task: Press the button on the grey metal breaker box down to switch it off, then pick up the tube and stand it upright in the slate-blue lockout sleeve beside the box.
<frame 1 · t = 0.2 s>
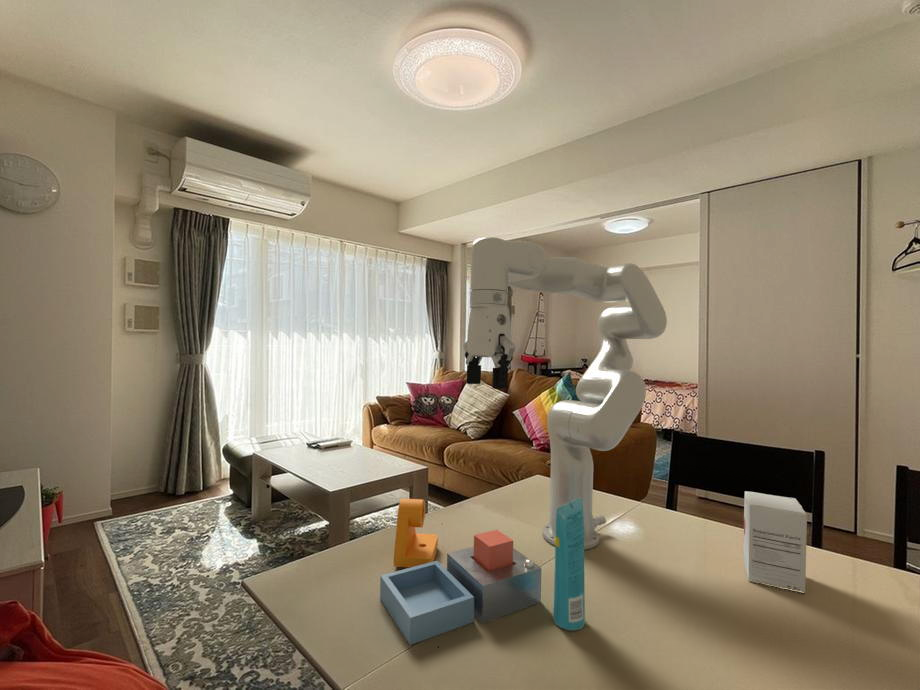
hand: (486, 386, 86), 36 cm above the table, tool pointing down, fingers open, 9 cm apart
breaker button: (493, 557, 76), point 6 cm above the table, slide at 0.0 cm
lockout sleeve: (424, 609, 71), on the table
supplement box: (771, 578, 84), on the table
breaker box: (492, 593, 76), on the table
tube: (567, 622, 69), on the table
bracket: (417, 559, 89), on the table
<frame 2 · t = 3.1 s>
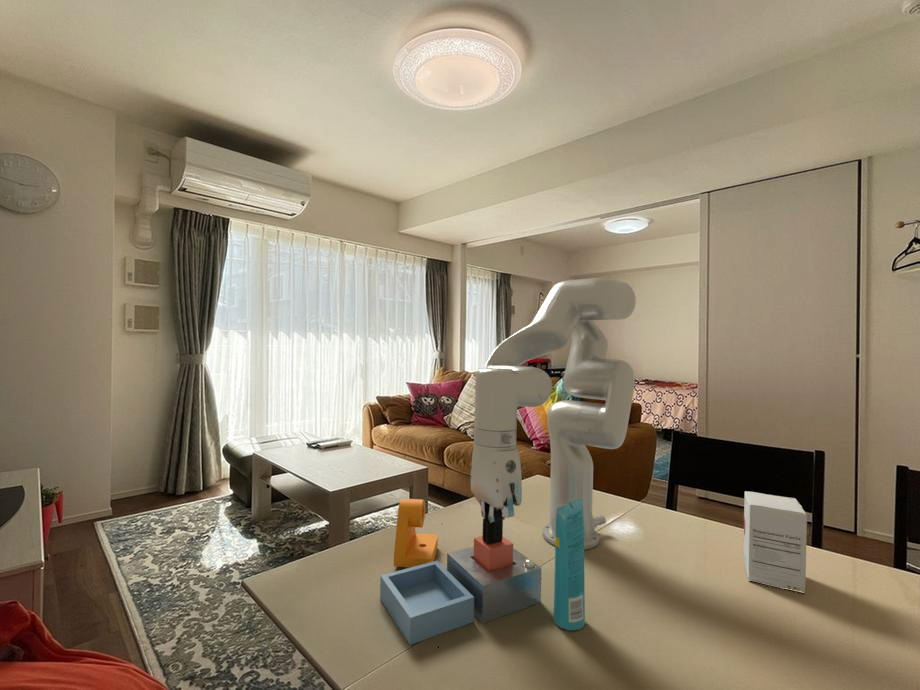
hand: (492, 541, 76), 10 cm above the table, tool pointing down, fingers closed
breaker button: (493, 560, 76), point 6 cm above the table, slide at 0.6 cm, touching gripper
everything else where it was.
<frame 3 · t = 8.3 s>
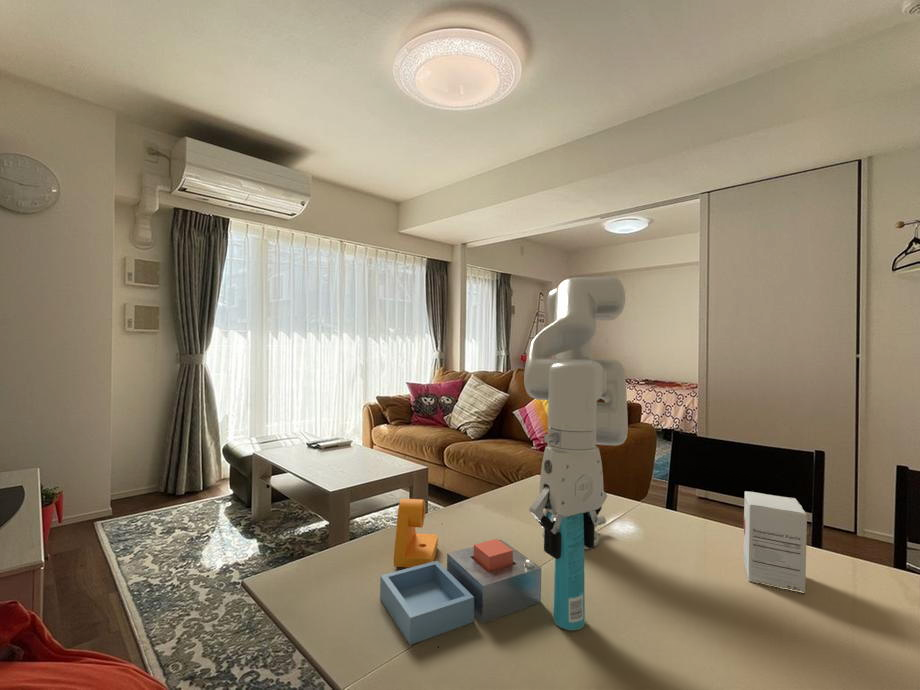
hand: (569, 548, 69), 12 cm above the table, tool pointing down, fingers closed on tube, 6 cm apart
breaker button: (492, 567, 76), point 5 cm above the table, slide at 1.7 cm
tube: (567, 622, 69), on the table, touching gripper
everything else where it was.
when the fingers open (14 cm above the table, at t = 14.8 s): tube drops 1 cm, resting on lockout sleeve.
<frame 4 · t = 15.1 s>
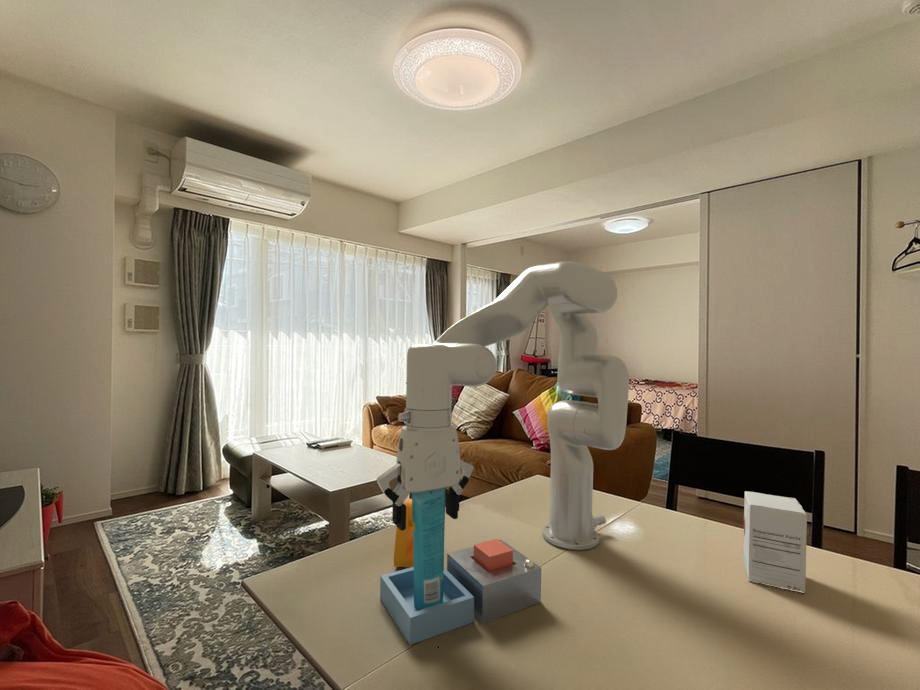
hand: (426, 521, 71), 15 cm above the table, tool pointing down, fingers open, 9 cm apart
tube: (427, 604, 72), point 1 cm above the table, touching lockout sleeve
everything else where it was.
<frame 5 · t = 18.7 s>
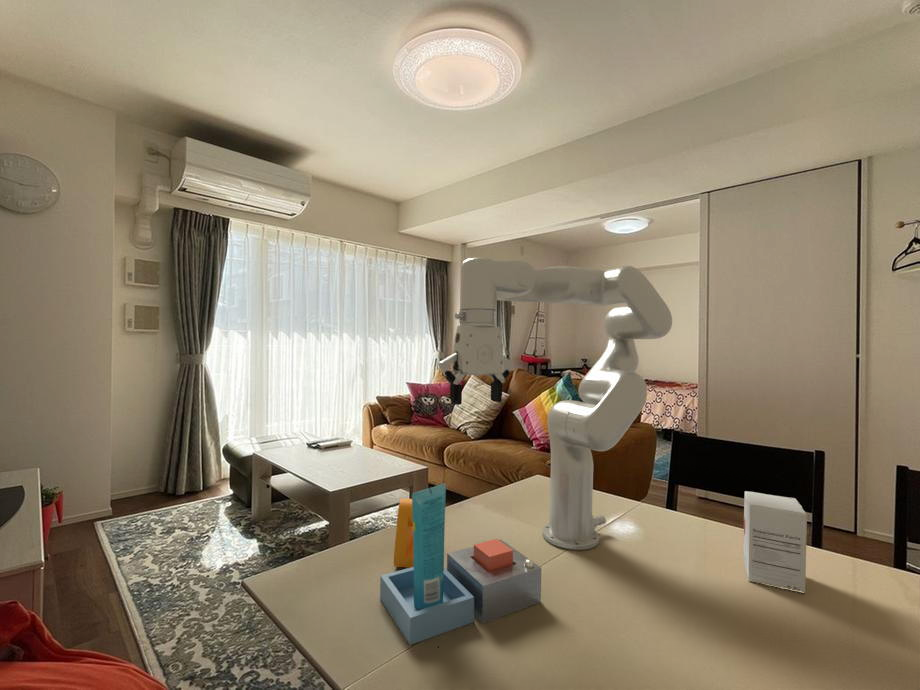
hand: (476, 402, 88), 32 cm above the table, tool pointing down, fingers open, 9 cm apart
nothing on the table moved.
at the end: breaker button slide at 1.7 cm; tube 0.4 cm off-centre on the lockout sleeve, point 0.8 cm above the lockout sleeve's base; tube tilted 0° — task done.
